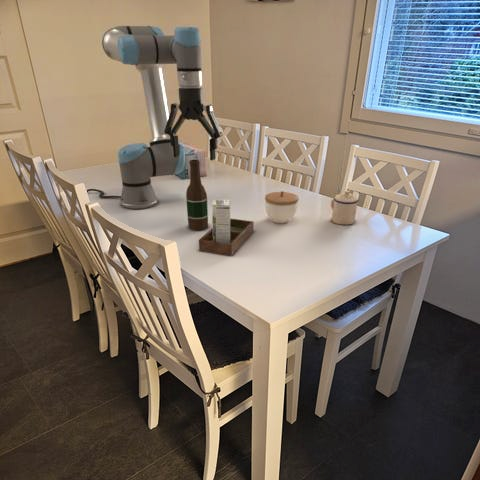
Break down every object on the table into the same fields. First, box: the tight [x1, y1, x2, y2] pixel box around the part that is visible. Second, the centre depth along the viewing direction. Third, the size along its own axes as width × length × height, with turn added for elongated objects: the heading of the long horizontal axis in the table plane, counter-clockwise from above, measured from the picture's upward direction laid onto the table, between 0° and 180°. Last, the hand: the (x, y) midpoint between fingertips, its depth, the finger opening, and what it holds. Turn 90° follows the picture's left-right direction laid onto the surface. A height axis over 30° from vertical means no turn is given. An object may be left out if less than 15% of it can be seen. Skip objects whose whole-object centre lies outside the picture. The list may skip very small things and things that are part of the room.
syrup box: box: [211, 199, 231, 244], centre depth 138 cm, size 6×6×14 cm
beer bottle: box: [185, 160, 209, 232], centre depth 150 cm, size 8×8×24 cm
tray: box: [198, 217, 255, 257], centre depth 145 cm, size 12×22×4 cm, turn 160°
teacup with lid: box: [330, 189, 359, 226], centre depth 160 cm, size 12×9×12 cm
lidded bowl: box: [264, 190, 299, 224], centre depth 160 cm, size 13×13×11 cm
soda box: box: [175, 137, 207, 180], centre depth 224 cm, size 41×14×13 cm, turn 30°
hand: (194, 158), depth 143 cm, fingers open, 13 cm apart
